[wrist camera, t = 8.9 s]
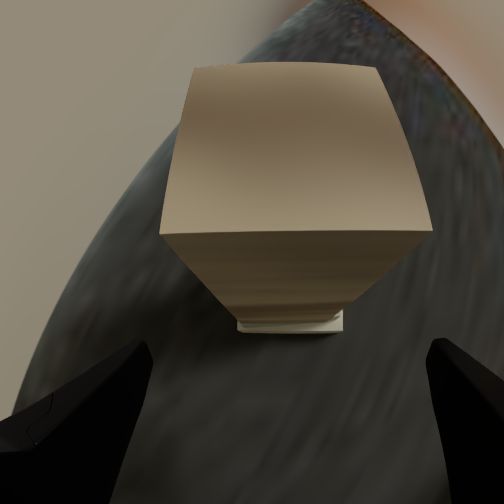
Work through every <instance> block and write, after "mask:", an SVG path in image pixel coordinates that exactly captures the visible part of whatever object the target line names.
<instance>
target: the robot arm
mask: <svg viewBox="0 0 504 504" xmlns="http://www.w3.org/2000/svg"><path fill="white" fill-rule="evenodd" d="M152 367H153V359H152V356H151V354H150V351H149V349H148V346H147V344H146V342H144V341H139V340H133V341H131V342H130V343H128V344H127V345H125V346H124V347H122V348H120V349H119V350H117V351H116V352H114V353H113V354H111V355H110V356H108V357H107V358H105V359H104V360H102V361H100V362H99V363H97V364H96V365H94V366H93V367H91V368H90V369H88V370H87V371H85V372H83V373H82V374H80V375H79V376H77V377H76V378H74V379H73V380H71V381H69V382H68V383H66V384H65V385H63V386H62V387H60V388H59V389H57V390H55V391H54V393H53V392H52V393H51V394H49V395H48V396H46V397H44V398H43V399H41V400H39V401H38V402H36V403H35V404H33V405H31V406H29V407H27V408H25V409H24V410H22V411H20V412H18V413H16V414H14V415H12V416H10V417H8V418H6V419H4V420H2V421H0V504H109V502H110V499H111V496H112V493H113V490H114V487H115V484H116V480H117V477H118V474H119V471H120V468H121V465H122V462H123V459H124V457H125V454H126V451H127V448H128V445H129V442H130V439H131V436H132V434H133V431H134V428H135V425H136V422H137V420H138V417H139V414H140V411H141V409H142V406H143V402H144V399H145V395H146V391H147V387H148V383H149V379H150V375H151V371H152ZM426 369H427V374H428V380H429V386H430V392H431V398H432V404H433V408H434V413H435V417H436V421H437V425H438V429H439V433H440V438H441V442H442V447H443V452H444V457H445V462H446V468H447V474H448V480H449V487H450V494H451V502H452V504H504V381H503V380H502V379H501V378H499V377H498V376H497V375H495V374H494V373H493V372H491V371H490V370H489V369H487V368H486V367H485V366H483V365H482V364H481V363H479V362H478V361H477V360H475V359H474V358H473V357H471V356H470V355H469V354H467V353H466V352H464V351H463V350H462V349H460V348H459V347H458V346H456V345H455V344H453V343H452V342H451V341H449V340H448V339H446V338H437V339H434V340H433V341H432V343H431V346H430V349H429V352H428V354H427V357H426Z"/></svg>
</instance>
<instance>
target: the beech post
mask: <svg viewBox="0 0 504 504" xmlns="http://www.w3.org/2000/svg"><path fill="white" fill-rule="evenodd" d="M432 231H433V230H432V225H431V221H430V217H429V212H428V208H427V205H426V201H425V197H424V193H423V190H422V186H421V183H420V179H419V176H418V173H417V170H416V166H415V163H414V160H413V157H412V154H411V151H410V149H409V146H408V143H407V140H406V137H405V135H404V132H403V129H402V127H401V124H400V122H399V119H398V117H397V114H396V112H395V109H394V107H393V105H392V102H391V100H390V98H389V96H388V93H387V91H386V89H385V87H384V85H383V82H382V80H381V78H380V76H379V74H378V72H377V70H376V68H373V67H364V66H355V65H345V64H332V63H313V62H261V63H242V64H229V65H218V66H209V67H201V68H194V70H193V74H192V78H191V81H190V85H189V88H188V93H187V96H186V100H185V104H184V108H183V112H182V116H181V120H180V125H179V129H178V134H177V138H176V143H175V147H174V152H173V157H172V162H171V167H170V172H169V178H168V183H167V189H166V194H165V200H164V206H163V213H162V219H161V226H160V233H159V234H160V235H161V236H162V238H163V239H164V240H165V241H166V242H167V243H168V244H169V246H170V247H171V248H172V249H173V250H174V251H175V253H176V254H177V255H178V256H179V257H180V258H181V259H182V260H183V262H184V263H185V264H186V265H187V266H188V267H189V268H190V269H191V271H192V272H193V273H194V274H195V275H196V276H197V277H198V278H199V279H200V281H201V282H202V283H203V284H204V285H205V286H206V287H207V288H208V289H209V290H210V291H211V293H212V294H213V295H214V296H215V297H216V298H217V299H218V300H219V301H220V302H221V303H222V304H223V305H224V306H225V308H226V309H227V310H228V311H229V312H230V313H231V314H232V315H233V316H234V317H235V318H236V319H237V320H238V321H239V322H240V323H241V324H289V323H324V322H327V321H328V320H330V319H331V318H332V317H334V316H335V315H336V314H337V313H339V312H340V311H341V310H342V309H344V308H345V307H346V306H348V305H349V304H350V303H351V302H353V301H354V300H355V299H356V298H357V297H359V296H360V295H361V294H362V293H364V292H365V291H366V290H367V289H368V288H370V287H371V286H372V285H373V284H374V283H376V282H377V281H378V280H379V279H380V278H381V277H383V276H384V275H385V274H386V273H387V272H388V271H390V270H391V269H392V268H393V267H394V266H395V265H396V264H397V263H399V262H400V261H401V260H402V259H403V258H404V257H405V256H406V255H407V254H409V253H410V252H411V251H412V250H413V249H414V248H415V247H416V246H417V245H418V244H419V243H420V242H421V241H423V240H424V239H425V238H426V237H427V236H428V235H429V234H430V233H431V232H432Z"/></svg>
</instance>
